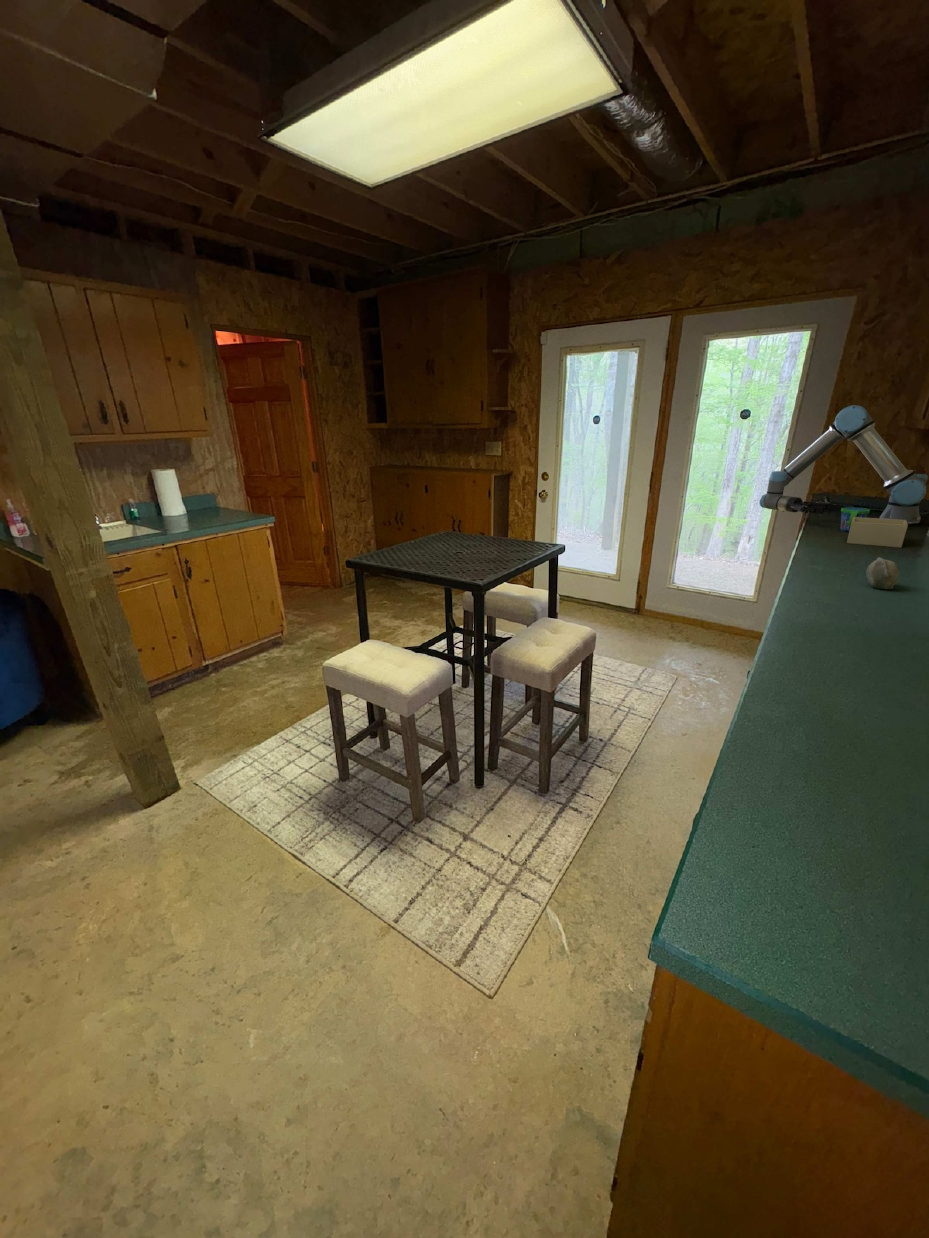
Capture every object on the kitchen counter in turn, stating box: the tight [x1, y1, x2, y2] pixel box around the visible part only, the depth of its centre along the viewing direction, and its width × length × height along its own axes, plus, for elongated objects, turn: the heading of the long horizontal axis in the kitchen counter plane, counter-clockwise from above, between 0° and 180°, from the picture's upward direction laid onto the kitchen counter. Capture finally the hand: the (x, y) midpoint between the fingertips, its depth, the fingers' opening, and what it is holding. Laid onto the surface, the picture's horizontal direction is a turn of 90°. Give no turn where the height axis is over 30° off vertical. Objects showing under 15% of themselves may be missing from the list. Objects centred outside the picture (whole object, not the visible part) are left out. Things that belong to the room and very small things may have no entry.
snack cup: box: [840, 507, 871, 533], centre depth 224 cm, size 16×10×10 cm
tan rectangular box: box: [846, 517, 909, 548], centre depth 202 cm, size 13×18×9 cm
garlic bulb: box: [865, 557, 900, 590], centre depth 150 cm, size 9×8×10 cm
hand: (833, 509), depth 231 cm, fingers open, 13 cm apart
